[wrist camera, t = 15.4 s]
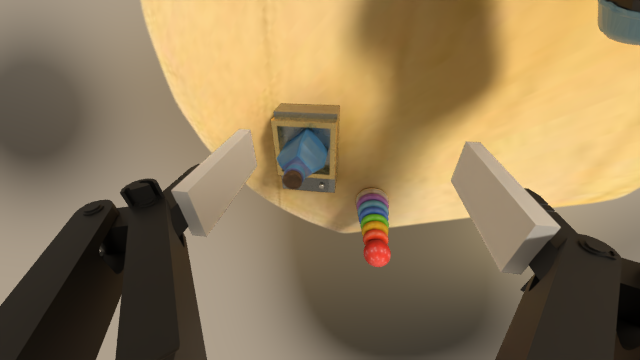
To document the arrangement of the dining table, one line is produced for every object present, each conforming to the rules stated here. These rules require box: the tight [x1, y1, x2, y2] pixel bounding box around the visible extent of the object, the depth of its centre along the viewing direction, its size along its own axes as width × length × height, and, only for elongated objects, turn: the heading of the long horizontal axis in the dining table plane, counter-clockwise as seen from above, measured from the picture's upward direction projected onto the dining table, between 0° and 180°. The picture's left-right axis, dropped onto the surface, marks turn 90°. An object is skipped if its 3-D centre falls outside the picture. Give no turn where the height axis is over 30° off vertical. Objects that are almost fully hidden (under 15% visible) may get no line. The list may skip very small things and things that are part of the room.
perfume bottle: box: [277, 128, 328, 189], centre depth 41 cm, size 6×6×12 cm
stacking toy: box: [356, 188, 391, 267], centre depth 50 cm, size 8×8×19 cm
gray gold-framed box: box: [271, 103, 340, 193], centre depth 49 cm, size 18×12×7 cm, turn 0°
